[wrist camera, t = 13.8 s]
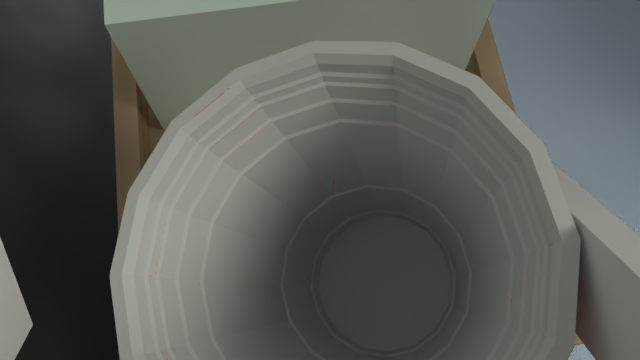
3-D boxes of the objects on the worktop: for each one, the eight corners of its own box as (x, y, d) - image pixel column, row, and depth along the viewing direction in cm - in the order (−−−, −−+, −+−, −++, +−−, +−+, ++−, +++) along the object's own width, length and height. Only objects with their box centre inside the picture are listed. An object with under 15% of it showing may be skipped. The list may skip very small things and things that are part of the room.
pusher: (451, 70, 28) (499, -49, 21) (456, 89, 28) (506, -26, 21) (161, 109, 28) (103, -1, 20) (163, 128, 27) (104, 24, 20)
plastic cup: (366, 100, 26) (301, -58, 15) (578, 265, 23) (705, 230, 12) (202, 289, 26) (8, 280, 15) (394, 481, 23) (338, 660, 12)
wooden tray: (452, -21, 32) (493, -148, 24) (555, 349, 25) (652, 328, 18) (126, 19, 31) (67, -100, 23) (146, 415, 24) (71, 420, 17)
